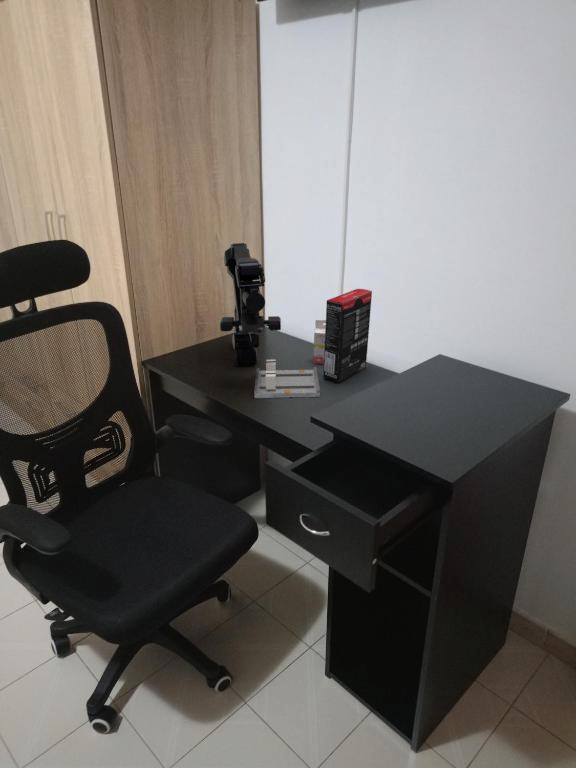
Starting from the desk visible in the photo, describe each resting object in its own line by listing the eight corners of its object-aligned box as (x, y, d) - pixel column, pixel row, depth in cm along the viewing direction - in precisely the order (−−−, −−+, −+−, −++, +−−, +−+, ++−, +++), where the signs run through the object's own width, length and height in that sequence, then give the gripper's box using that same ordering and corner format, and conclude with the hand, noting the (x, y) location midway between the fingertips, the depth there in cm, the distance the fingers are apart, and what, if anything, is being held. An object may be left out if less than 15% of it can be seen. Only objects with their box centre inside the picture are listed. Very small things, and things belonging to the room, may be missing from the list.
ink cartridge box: (313, 364, 190) (313, 324, 184) (314, 358, 195) (314, 319, 188) (337, 364, 189) (339, 324, 183) (338, 359, 194) (339, 319, 187)
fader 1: (266, 377, 176) (266, 363, 174) (266, 371, 180) (266, 359, 178) (276, 376, 176) (275, 363, 174) (276, 371, 180) (275, 358, 178)
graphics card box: (351, 362, 191) (354, 286, 179) (368, 367, 187) (373, 290, 175) (322, 379, 179) (324, 298, 167) (340, 385, 175) (342, 303, 163)
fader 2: (265, 389, 168) (265, 375, 166) (266, 383, 172) (265, 370, 170) (275, 389, 168) (275, 375, 166) (275, 383, 172) (275, 370, 170)
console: (254, 398, 167) (254, 390, 166) (256, 374, 183) (256, 367, 182) (319, 397, 168) (319, 389, 166) (316, 373, 183) (316, 366, 182)
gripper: (216, 310, 160) (220, 359, 167) (280, 309, 160) (281, 358, 167) (220, 299, 170) (223, 345, 177) (280, 298, 170) (281, 344, 177)
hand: (251, 349), depth 174 cm, fingers closed
